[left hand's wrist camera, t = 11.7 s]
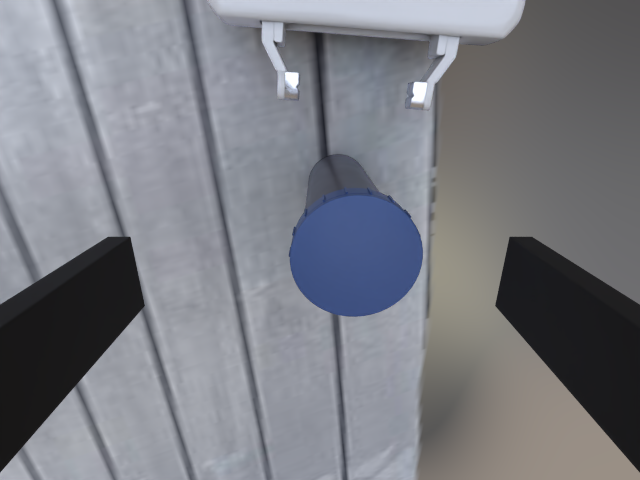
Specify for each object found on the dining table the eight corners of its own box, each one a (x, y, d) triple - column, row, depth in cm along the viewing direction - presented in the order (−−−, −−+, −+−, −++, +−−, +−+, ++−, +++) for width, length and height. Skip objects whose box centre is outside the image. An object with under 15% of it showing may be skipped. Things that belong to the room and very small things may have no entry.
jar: (313, 215, 35) (310, 311, 19) (303, 159, 33) (290, 212, 17) (369, 206, 35) (414, 296, 19) (362, 149, 33) (406, 194, 17)
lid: (303, 309, 20) (302, 326, 19) (280, 197, 18) (276, 205, 16) (418, 293, 20) (427, 308, 18) (411, 176, 18) (419, 182, 16)
